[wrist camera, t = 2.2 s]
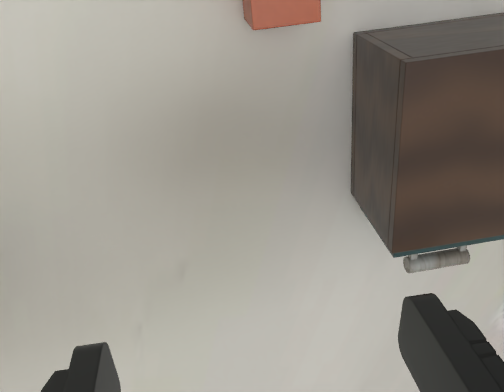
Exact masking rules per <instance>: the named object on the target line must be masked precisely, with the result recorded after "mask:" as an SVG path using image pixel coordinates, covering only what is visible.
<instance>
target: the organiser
mask: <svg viewBox="0 0 504 392" xmlns="http://www.w3.org/2000/svg"><path fill="white" fill-rule="evenodd" d="M351 193H352V195H353V196H354V198H355V199H356V201H357V202H358V204H359V205H360V207H361V208H362V210H363V211H364V213H365V214H366V216H367V217H368V219H369V220H370V222H371V223H372V225H373V226H374V228H375V229H376V231H377V232H378V234H379V235H380V237H381V238H382V240H383V241H384V243H385V244H386V246H387V247H388V249H389V250H390V252H391V253H392V254H394V253H400V252H406V251H411V250H417V249H423V248H429V247H435V246H441V245H447V244H453V243H459V242H465V241H471V240H476V239H482V238H488V237H494V236H500V235H504V13H499V14H492V15H484V16H476V17H469V18H461V19H454V20H446V21H439V22H431V23H424V24H416V25H408V26H401V27H393V28H386V29H378V30H371V31H363V32H356V33H354V45H353V107H352V170H351Z"/></svg>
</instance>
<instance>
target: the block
mask: <svg viewBox="0 0 504 392" xmlns="http://www.w3.org/2000/svg"><path fill="white" fill-rule="evenodd" d="M243 9H244V19H245V20H246V21H247V23H248V24H249V25H250V26H251V28H252V29H253V30H260V29H268V28H275V27H283V26H291V25H298V24H306V23H314V22H320V21H321V5H320V0H243Z"/></svg>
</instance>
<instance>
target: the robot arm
mask: <svg viewBox="0 0 504 392" xmlns="http://www.w3.org/2000/svg"><path fill="white" fill-rule="evenodd" d="M398 343H399V348H400V352H401V355H402V357H403V359H404V361H405V363H406V365H407V367H408V369H409V371H410V373H411V375H412V377H413V379H414V380H415V382H416V384H417V386H418V388H419V390H420V392H504V362H503V360H502V359H501V358H500V356H499V355H497V354H496V351H495V350H494V348H493V347H492V346H491V344H490V343H489V342H487V341H486V338H485V337H484V335H483V334H482V333H481V331H480V330H479V329H478V327H477V326H476V325H475V323H474V322H473V321H471V320H470V319H468V318H467V317H466V316H464V315H463V314H462V313H460V312H459V311H457V310H450V311H447V310H446V308H445V307H444V306H443V304H442V303H441V301H440V300H439V298H438V297H437V296H436V295H435V294H433V293H429V294H423V295H416V296H409V297H405V298H404V300H403V305H402V312H401V319H400V326H399V333H398ZM41 392H121V388H120V382H119V378H118V375H117V371H116V368H115V365H114V362H113V359H112V356H111V352H110V349H109V346H108V344H107V343H106V342H103V343H96V344H89V345H82V346H76V347H75V349H74V351H73V354H72V358H71V362H70V366H69V369H67V370H60V371H55V372H54V373H53V375H52V376H51V377H50V379H49V380H48V382H47V383H46V384H45V386H44V387H43V389H42V390H41Z"/></svg>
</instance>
